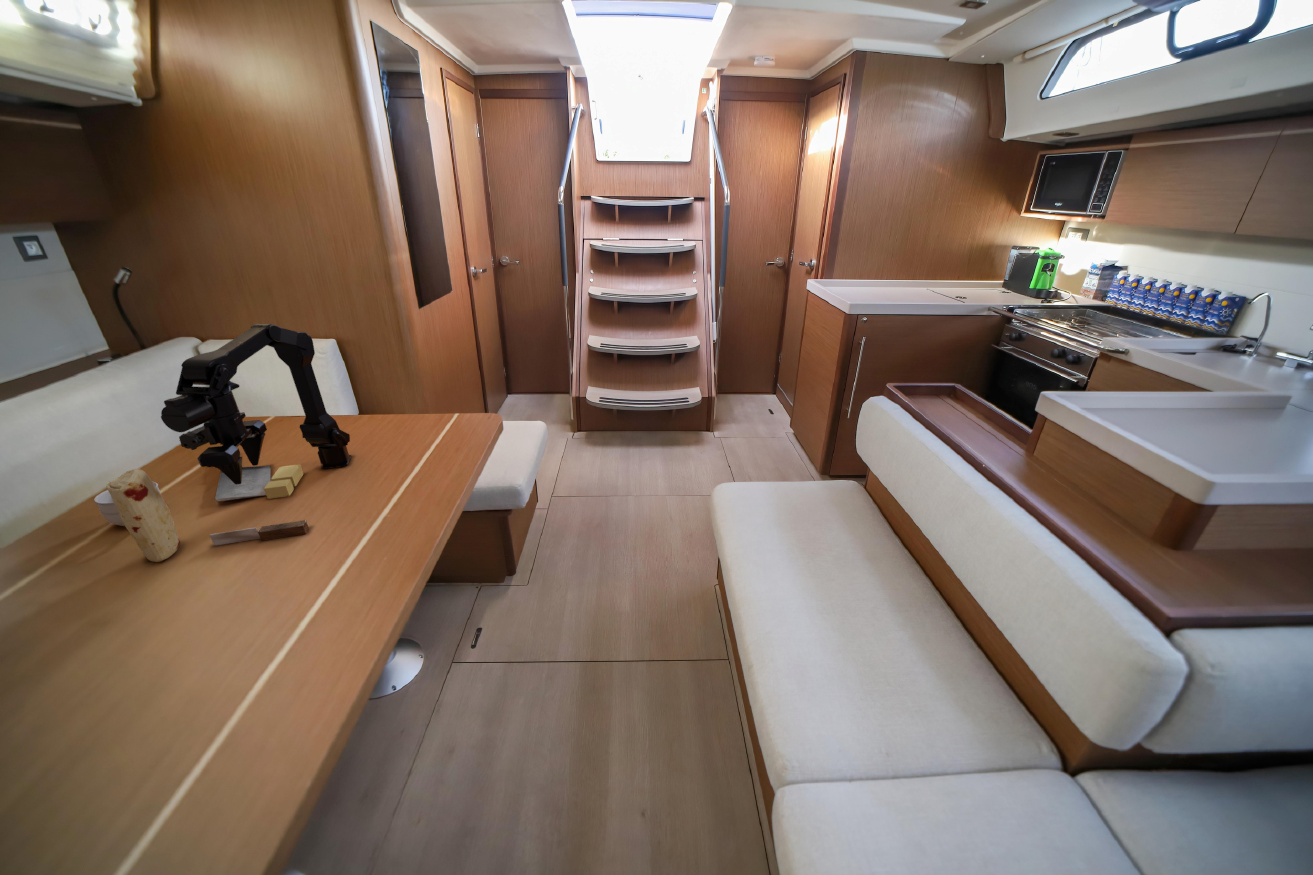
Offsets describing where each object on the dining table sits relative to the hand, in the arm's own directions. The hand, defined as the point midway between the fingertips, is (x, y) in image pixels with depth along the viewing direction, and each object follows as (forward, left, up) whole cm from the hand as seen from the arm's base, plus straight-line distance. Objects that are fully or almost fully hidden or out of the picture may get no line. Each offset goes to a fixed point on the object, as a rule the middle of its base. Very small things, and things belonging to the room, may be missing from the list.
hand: (247, 474), depth 118 cm
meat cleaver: (+13, -26, -13) cm, 31 cm away
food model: (+16, +9, -13) cm, 22 cm away
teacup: (+28, -7, -13) cm, 31 cm away
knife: (-2, +9, -12) cm, 16 cm away
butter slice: (0, -11, -12) cm, 16 cm away
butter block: (0, -18, -12) cm, 22 cm away
